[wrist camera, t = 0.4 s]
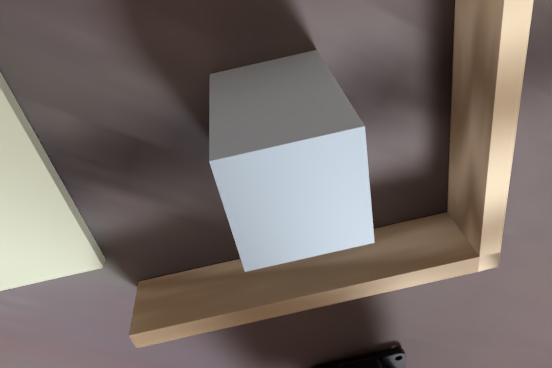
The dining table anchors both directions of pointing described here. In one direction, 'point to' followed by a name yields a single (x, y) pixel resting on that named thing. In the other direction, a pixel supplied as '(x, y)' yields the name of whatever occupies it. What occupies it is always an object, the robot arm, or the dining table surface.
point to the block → (289, 161)
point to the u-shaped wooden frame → (393, 238)
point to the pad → (36, 209)
